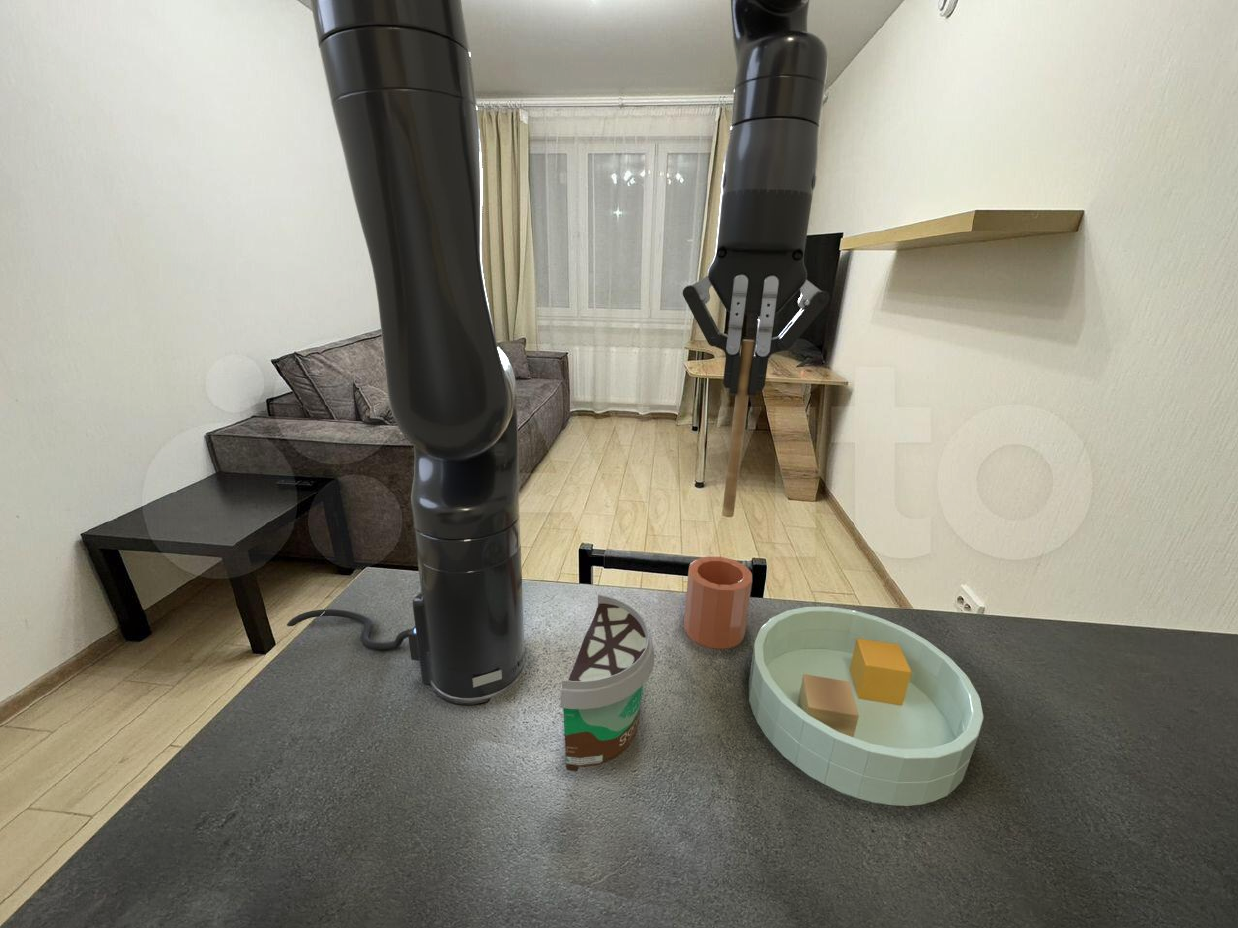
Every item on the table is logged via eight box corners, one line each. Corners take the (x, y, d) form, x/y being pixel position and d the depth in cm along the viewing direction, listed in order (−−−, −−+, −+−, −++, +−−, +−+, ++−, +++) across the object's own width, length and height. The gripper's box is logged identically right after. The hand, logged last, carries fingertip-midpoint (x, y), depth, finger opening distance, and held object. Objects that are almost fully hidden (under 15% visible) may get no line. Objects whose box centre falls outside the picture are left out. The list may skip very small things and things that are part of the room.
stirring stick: (721, 516, 54) (742, 340, 48) (722, 511, 55) (742, 339, 49) (733, 518, 54) (755, 341, 48) (733, 513, 55) (755, 339, 49)
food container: (637, 802, 40) (643, 700, 37) (560, 785, 41) (559, 685, 38) (658, 686, 52) (664, 600, 48) (597, 676, 53) (599, 591, 49)
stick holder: (680, 647, 57) (686, 584, 54) (686, 610, 64) (691, 552, 61) (744, 658, 56) (753, 594, 53) (743, 619, 62) (751, 560, 60)
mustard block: (857, 698, 50) (866, 665, 49) (849, 669, 54) (856, 637, 52) (902, 706, 49) (912, 672, 48) (890, 676, 53) (899, 644, 52)
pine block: (801, 742, 45) (808, 706, 44) (796, 707, 49) (803, 673, 47) (850, 752, 44) (859, 715, 43) (841, 715, 48) (849, 681, 47)
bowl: (750, 782, 42) (758, 730, 40) (746, 636, 59) (752, 595, 57) (1006, 835, 39) (1029, 781, 37) (924, 664, 56) (936, 621, 54)
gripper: (843, 199, 46) (811, 392, 52) (690, 197, 49) (676, 381, 55) (861, 185, 39) (822, 409, 45) (681, 183, 42) (666, 396, 48)
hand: (742, 393), depth 50 cm, fingers closed on stirring stick, 1 cm apart
